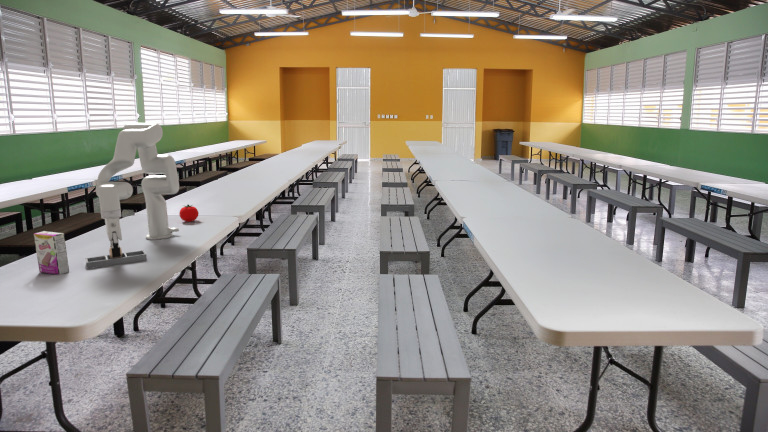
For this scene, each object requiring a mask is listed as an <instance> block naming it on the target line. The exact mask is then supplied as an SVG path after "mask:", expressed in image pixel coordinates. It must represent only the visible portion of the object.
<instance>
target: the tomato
mask: <svg viewBox="0 0 768 432" xmlns="http://www.w3.org/2000/svg"><path fill="white" fill-rule="evenodd" d="M182 206H183V207H181V208H180V210H179V214H178V215H179V217H180V219H181V220H182V221H184V222H186V223H189V222H190V223H191V221H192V222H194V221H196V219H198V217H199V210H198V209H197V207H195V206H193V204H191V205H190V204H186V205H182Z"/></svg>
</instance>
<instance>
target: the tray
mask: <svg viewBox="0 0 768 432" xmlns="http://www.w3.org/2000/svg"><path fill="white" fill-rule="evenodd" d="M147 260H148V259H147V253H146V251H145V250H144V249H143V250H135V251H127V252H122V257H119V258H110V254H107V255H99V256H91V257H86V258H85V264H86V269H87V270H88V269H94V268H103V267H108V266H115V265H123V264H128V263H135V262H143V261H147Z"/></svg>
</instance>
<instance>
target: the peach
mask: <svg viewBox="0 0 768 432" xmlns="http://www.w3.org/2000/svg"><path fill="white" fill-rule="evenodd" d="M119 247H120V253H121V256H120V257H122V253H123V251H122V247H121V246H120V245H119ZM111 248H112V246H111V247H109V250H108V252H109V254H108V255H110V258H113V257H112V249H111ZM114 258H119V257H114Z"/></svg>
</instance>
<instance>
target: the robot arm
mask: <svg viewBox="0 0 768 432" xmlns="http://www.w3.org/2000/svg"><path fill="white" fill-rule="evenodd" d="M122 129H123V130H121V131H119V133H118V135H117V139H116V143H115V149H114V153H113V158H112V159H111V160H110V161H109V162H108V163H107V164H106V165H105V166H104V167H103V168H101V170H100V171H99V173H98V176H97V180H96V184H95V185H96V186H95V194H96V196H97V197H98V200H99V208H100V209H99V210H100V218H101V219H103V220H104V223H105V224H104V225H105V231H106V234H107V239H108V241H109V242H110V247H111V246H112V248H111V249H112V257H113V258H114V257H120V256H121V253H120V247H121V246H120V242H119V241H122V240H123V237H122V228H121V222H120V218H121V217H122V212H121V211H122V209H121V202H120V201H121V200H127V199H129V198H130V197H131V196H133V192H134V187H133V185H131V183H129V182H127V181H111V179H112V177H113V176H115V175H116V174H117V173H120V172H123V171H124V170H127V169H128V168H131V167H132V166H134V164H135V160H136V156H137V152H138V158H139V162H140V168H141V170H142V172H143V173H144V174H148V175H147V176H145V177H143V179H142V180H141V188H142V193H143V195H144V196H143V197H144V200H145V208H146V218H147V228H148V233H147V234H146V235H145V238H146V239H147V240H163V239H164V240H165V239H169V238H172V237H173V236H174V235H173V233H174V232H176V233H177V232H180V229H179V227H170V226H169V217H168V208H167V207H168V206H167V201H166V199H165V198H164V196H163V195H175V194H178V192H179V190H180V182H179V181H180V180H179V175H178V171H177V170H178V169H177V165H176V159H175V158H174V157H173V156H172V155H170V154H159V153H158V149H157V145H156V144H157V143H158V142H160V141H161V140H162V138H163V133H164V130H163V128H162V126H161V125H160V124H159V123H156V122H131V123H126V124H125V125H124V126H123V128H122ZM155 174H156V175H155ZM160 174H161V175H160ZM162 174H163V175H162ZM119 246H120V247H119ZM110 247H109V248H110Z"/></svg>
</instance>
